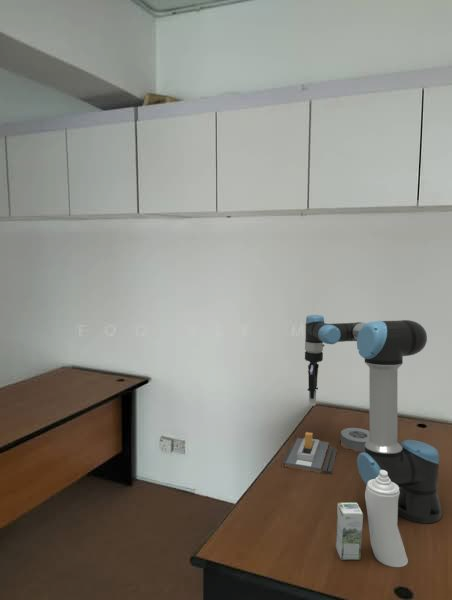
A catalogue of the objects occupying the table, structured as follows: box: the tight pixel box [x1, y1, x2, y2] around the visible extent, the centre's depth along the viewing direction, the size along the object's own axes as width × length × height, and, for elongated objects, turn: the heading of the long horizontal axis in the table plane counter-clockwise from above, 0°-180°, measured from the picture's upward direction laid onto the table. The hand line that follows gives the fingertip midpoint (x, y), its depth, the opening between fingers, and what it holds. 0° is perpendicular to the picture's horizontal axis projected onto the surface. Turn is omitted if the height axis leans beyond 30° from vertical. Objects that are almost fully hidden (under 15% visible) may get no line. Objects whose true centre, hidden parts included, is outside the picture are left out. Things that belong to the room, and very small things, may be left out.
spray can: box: [364, 470, 409, 568], centre depth 131 cm, size 12×11×25 cm
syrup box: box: [335, 502, 364, 561], centre depth 132 cm, size 6×6×14 cm
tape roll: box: [340, 427, 370, 451], centre depth 207 cm, size 15×15×5 cm
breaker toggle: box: [304, 431, 314, 454], centre depth 194 cm, size 3×3×8 cm
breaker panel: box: [281, 437, 338, 475], centre depth 194 cm, size 26×20×4 cm
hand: (312, 404), depth 199 cm, fingers closed
